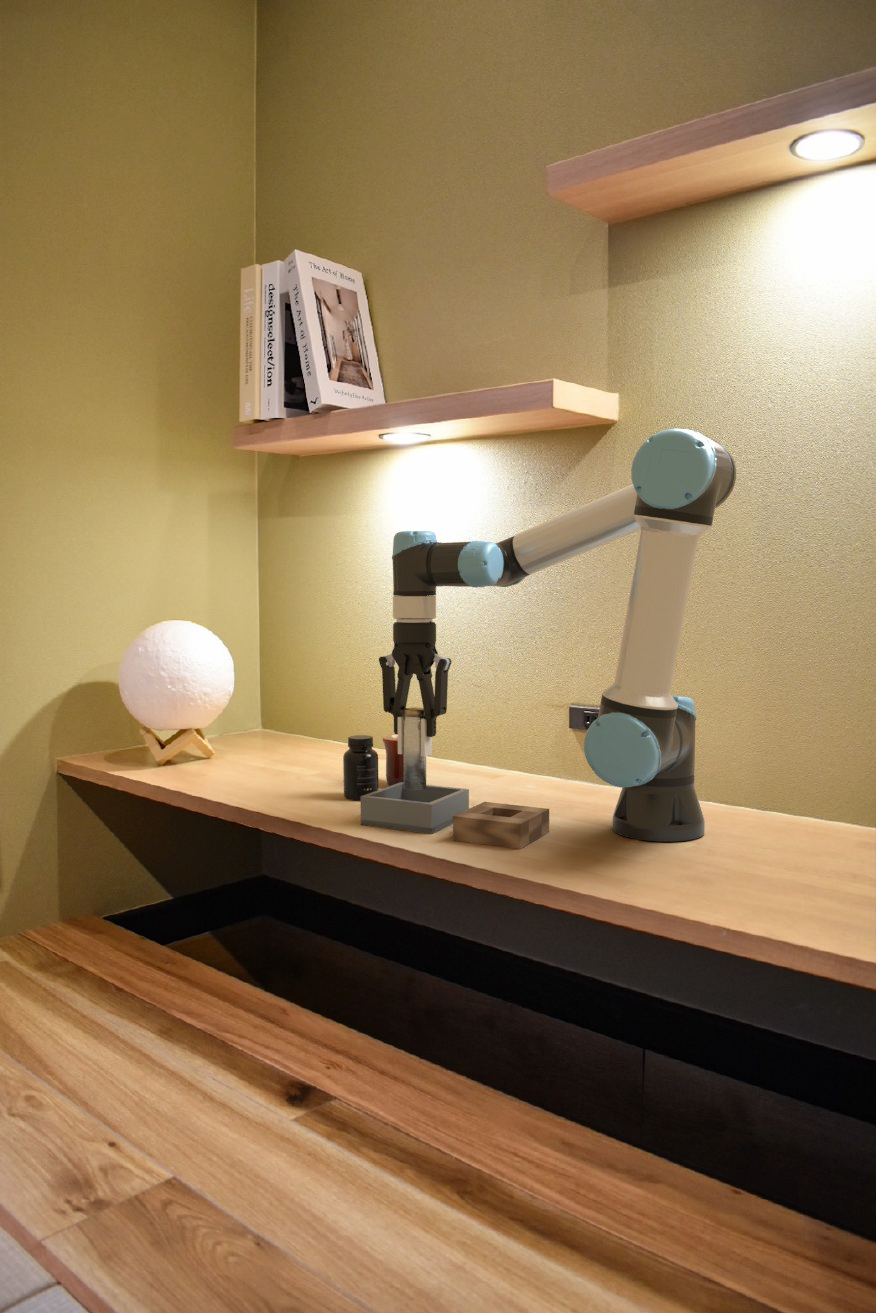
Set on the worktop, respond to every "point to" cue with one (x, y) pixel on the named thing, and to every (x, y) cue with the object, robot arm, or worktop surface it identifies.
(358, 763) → the supplement bottle
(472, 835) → the socket block
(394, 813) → the tray
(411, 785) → the pin
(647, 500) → the robot arm
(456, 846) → the worktop surface
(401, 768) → the mug
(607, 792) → the worktop surface
